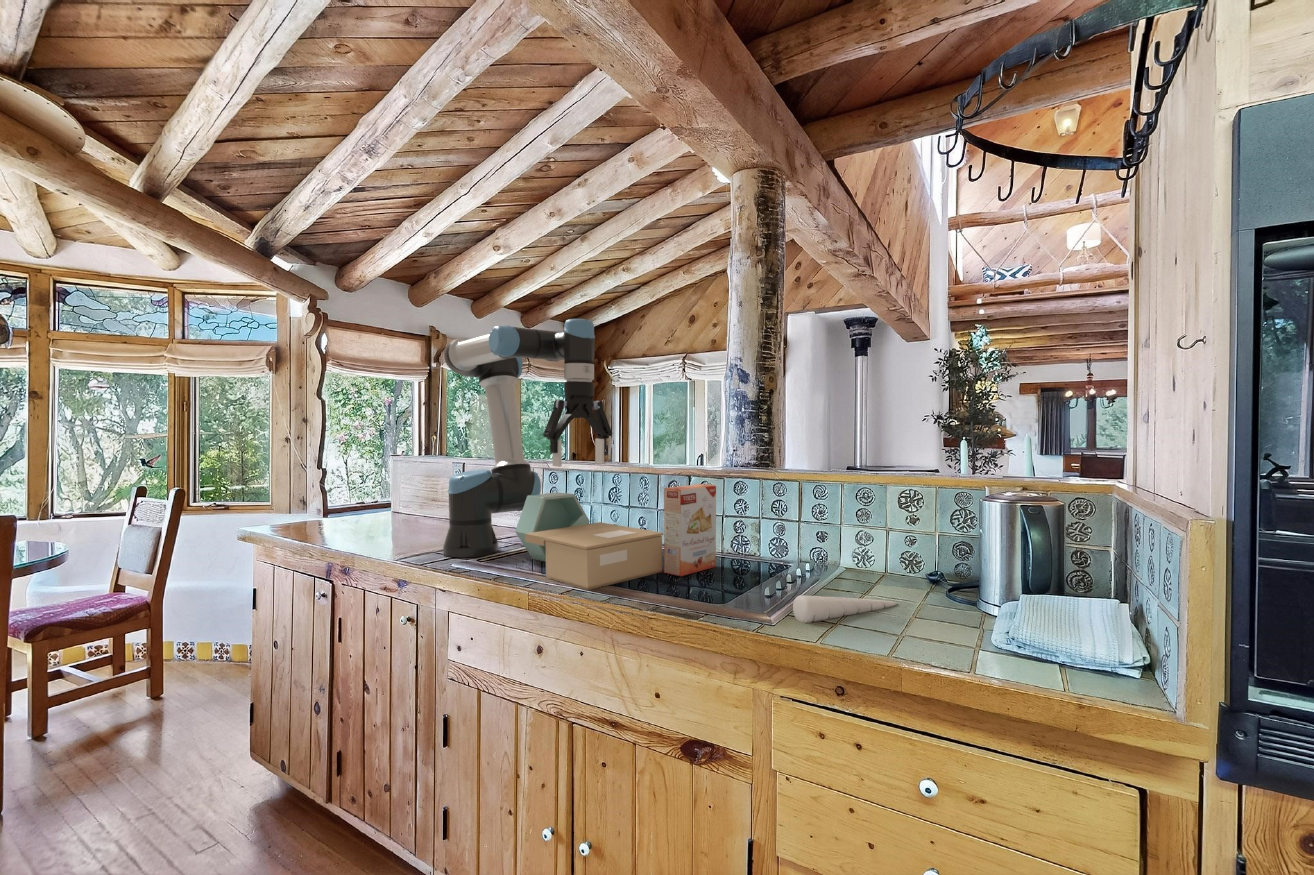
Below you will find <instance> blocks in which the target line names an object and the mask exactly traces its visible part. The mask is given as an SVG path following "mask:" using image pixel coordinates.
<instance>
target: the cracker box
mask: <svg viewBox="0 0 1314 875" xmlns="http://www.w3.org/2000/svg"><path fill="white" fill-rule="evenodd" d="M716 534H717V486H716V485H714V484H705V483H704V484H703V483H702V484H700V483H699V484H690V485H681V486H672V487H671V486H670V487H664V488H663V573H664V574H668V575H672V576H676V577H684V576H688V575H690V574H694V573H698V572H702V571H705V570H708V569H711V568H712V569H713V568H715V567H717V566H716V564H717V562H716V561H717V559H716V557H717V556H716V554H717V552H716V551H717V548H716V547H717V542H716V541H717V535H716Z"/></svg>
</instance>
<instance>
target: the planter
mask: <svg viewBox="0 0 1314 875" xmlns="http://www.w3.org/2000/svg"><path fill="white" fill-rule="evenodd" d="M590 522H591V521H590V520H589V517H588V516H587V514H586V512H585V510H584V509H583V507H582V505H581V503H580V501H579V499H578V498H577V496H576V494H575V493H567V492H559V491H558V492H549V493H548V492H547V493H540V494H537V495H528V496H527V498H526V501H525V504H524V507H523V510H522V511H521V514H520V516H519V518H518V523H517V526H516V528H515V531H514V532H515V534H516V535H517V537H518V539H519V540H520V541H521V543H522V544H523V546H524V549H526V551H527V553H528V554H529V556H530V558H531V559H533V560H537V561H540V562H544V563H546V546H542V545H537V544H533V543H529V542H525V533H532V532H539V531H545V530H552V529H559V528H565V527H572V526H578V525H585V524H590Z"/></svg>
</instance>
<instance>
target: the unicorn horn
mask: <svg viewBox="0 0 1314 875" xmlns="http://www.w3.org/2000/svg"><path fill="white" fill-rule="evenodd" d="M898 604H899V602H896V601H890V600H884V599H883V600H882V599H873V598H872V599H870V598H859V597H858V598H857V597H856V598H855V597H839V596H822V595H821V596H820V595H818V596H816V595H804V594H803V595H797V596H796V597H795V599H794V601H793V605H792V613H793V616H794V618H795V619H796V620H797V621H798V622H801V623H804V624H810V623H812V622H813V623H814V622H819V621H827V620H828V619H836V618H841V617H843V616H844V617H846V616H851V615H856V614H863V613H868V612H871V611H876V610H877V611H878V610H880V609H881V610H882V609H884V608H890V607H895V606H897V605H898Z"/></svg>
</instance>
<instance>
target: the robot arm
mask: <svg viewBox="0 0 1314 875" xmlns="http://www.w3.org/2000/svg"><path fill="white" fill-rule="evenodd" d="M595 339H596V335H595V323H594V322H593V321H592V320H591V319H585V318H569V319H566V320H565V322H564V327H563V330H560V331H556V330H548V329H537V328H527V327H526V328H524V327H517V326H511V325H495V326H494V327H493V328H492V330H491V331H490V332H489V333H488V334H483V335H481V336H477V337H472V338H467V337H460V338H456V339H453V340H451V341H450V342H449V343H448V344H447V345H446V346H445V348H444V352H443V358H444V362H445V363H446V366H447V367H448V368H449V369H450V370H451V371H452V372H454V373H455V374H457V375H460V376H463V377H467V378H478V381H479V386H480V387H481V388H482V389H484V390H485V394H486V402H487V411H488V417H489V423H490V431H491V438H492V446H493V453H494V454H493V455H494V462H495V464H494V466H493V467H492V468H491V470H490V469H478V470H474V469H473V470H467V471H463V472H459V473H456V474H454V475H452V476H451V477H450V478H449V481H448V490H447V493H448V511H449V512H448V516H449V517H448V520H449V522H448V523H449V524H448V526H449V527H448V530H447V533H446V537H445V539H444V544H443V546H442V554H443V556H445V557H450V558H475V557H477V558H478V557H483V556H488V555H492V554H495V553H497V552H498V551H499V542H498V538H497V536H496V534H495V530H494V528H493V523H492V514H501V513H509V512H522V510H523V507H524V504H525V501H526V498H527V496H528V495H537V494H541V493H542V488H541V486H542V484H541V483H542V482H541V478H540V476H539V474H538V472H536V471H534V470H531V464H530V462H528V461H527V460H525V457H524V456H525V455H524V448H523V442H522V435H521V429H520V421H519V415H518V408H517V400H516V394H515V388H514V386H515V385H516V384H517V383H518V379H519V378H520V377H521V375H522V374H523V366H524V365H523V364H524V362H523V359H532V360H533V359H534V360H535V359H536V360H544V361H547V362H559V361H564V365H563V367H564V368H563V369H564V370H563V380H566V381H565V383H563V386H564V387H563V388H564V389H563V390H564V391H563V392H564V393H563V395H564V396H565V397H564V398H565V399H564V400H563V399H555V400H554V403H553V409H552V412H551V414H550V416H549V419H548V422H547V424H546V426H545V428H544V431H543V433H542V436H543V437H544V438H547V440H549V444H550V446H549V451H550V453H551V454H552V467H558V468H561V467H563V466H562V460H563V459H562V458H563V457H562V452H563V451H562V450H563V448H562V447H563V445H562V444H563V442H562V440H561V439H560V437H561V436H562V435H563V433H564V432H565V430H566V429H567V427H568V426H569V424H570V423H571V421H572V420H574V419H584V420H586V422H587V423H588V424H589V426H590V427H591V429H592V430H593V432H594V434H595V435H596V436H597V438H595V439H594V442H595V443H594V444H595V446H594V451H595V455H594V457H595V458H594V463H595V464H598V465H604V464H605V451H606V450H607V448H606V447H607V440H608V439H609V437H612V436H613V431H612V429H611V426H610V423H609V421H608V417H607V415H606V413H605V410H604V402H603V400H594V399H593V397H594V396H595V383H594V382H593V381H594V380H595V341H596V340H595ZM564 409H565V411H564Z"/></svg>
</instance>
